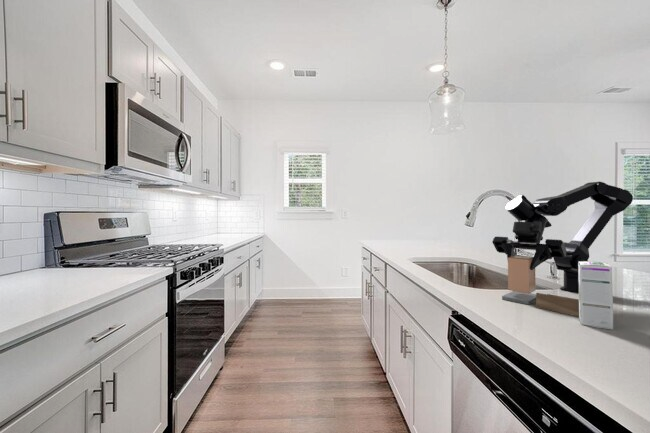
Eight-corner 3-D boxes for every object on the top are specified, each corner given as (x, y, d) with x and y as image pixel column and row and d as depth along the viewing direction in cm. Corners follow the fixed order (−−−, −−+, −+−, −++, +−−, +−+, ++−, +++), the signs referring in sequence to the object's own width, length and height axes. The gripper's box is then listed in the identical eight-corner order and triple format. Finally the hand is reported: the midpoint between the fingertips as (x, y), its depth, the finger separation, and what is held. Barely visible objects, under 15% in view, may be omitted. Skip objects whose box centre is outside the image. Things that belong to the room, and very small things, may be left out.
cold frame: (547, 300, 88) (547, 287, 88) (590, 308, 81) (590, 294, 81) (536, 307, 82) (536, 293, 82) (581, 316, 75) (581, 301, 75)
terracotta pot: (515, 286, 94) (515, 255, 94) (535, 290, 90) (535, 257, 90) (508, 290, 91) (507, 257, 91) (528, 293, 87) (528, 259, 86)
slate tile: (515, 293, 96) (515, 290, 96) (540, 298, 91) (540, 294, 91) (502, 299, 90) (502, 296, 90) (528, 304, 85) (528, 301, 85)
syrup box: (614, 330, 66) (614, 266, 66) (579, 324, 70) (579, 263, 70) (609, 322, 71) (610, 262, 71) (577, 317, 74) (577, 260, 74)
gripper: (494, 212, 100) (479, 248, 93) (563, 212, 85) (550, 254, 78) (504, 234, 105) (490, 269, 98) (571, 237, 90) (560, 279, 83)
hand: (519, 267), depth 89 cm, fingers closed on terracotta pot, 5 cm apart
